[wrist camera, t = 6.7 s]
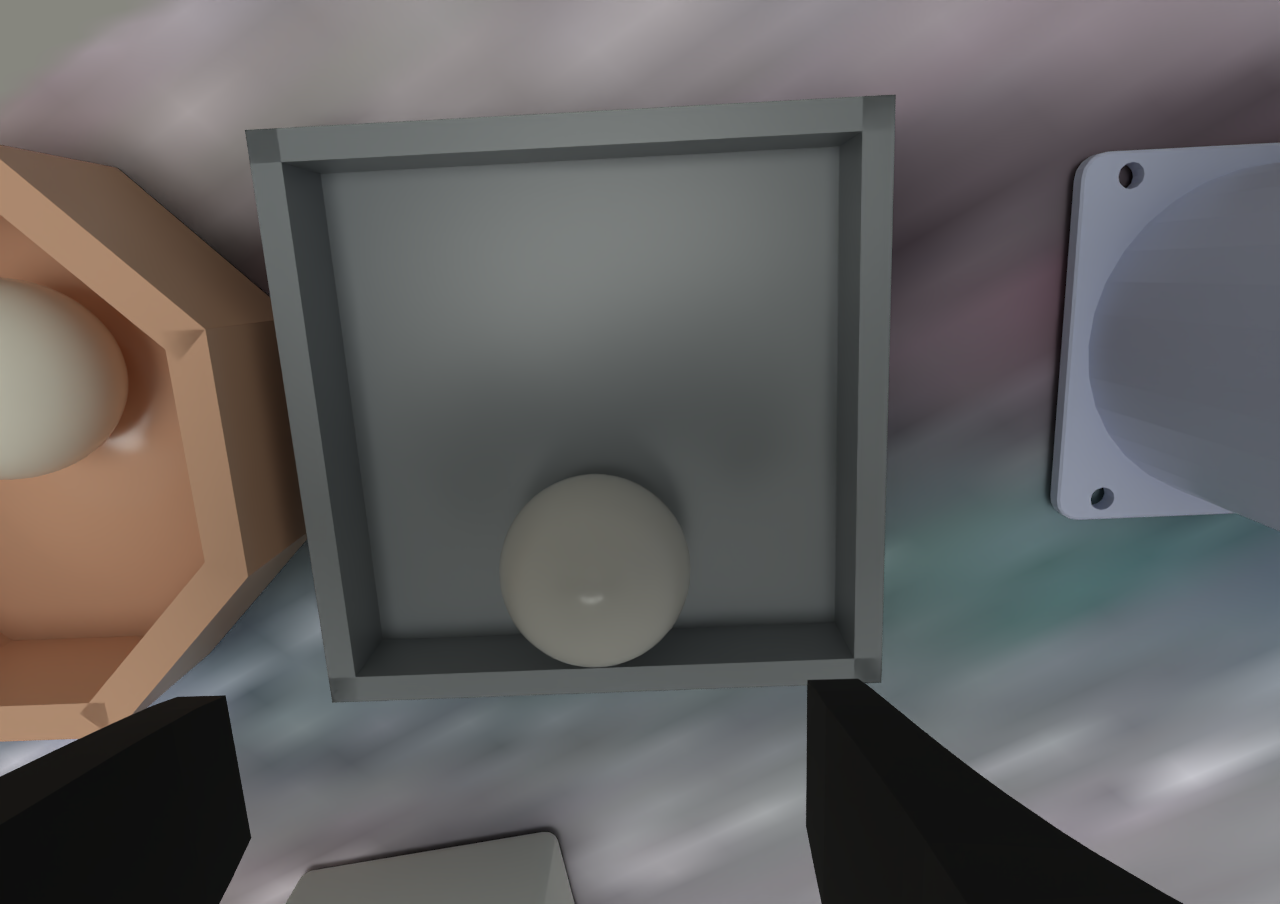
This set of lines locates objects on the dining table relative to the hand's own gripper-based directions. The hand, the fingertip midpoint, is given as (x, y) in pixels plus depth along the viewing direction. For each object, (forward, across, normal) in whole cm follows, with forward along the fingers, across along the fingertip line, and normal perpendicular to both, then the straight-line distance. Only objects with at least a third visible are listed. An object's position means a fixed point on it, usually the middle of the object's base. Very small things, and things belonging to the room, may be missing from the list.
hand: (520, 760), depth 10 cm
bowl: (+9, +12, -3) cm, 15 cm away
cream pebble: (+9, +11, -4) cm, 15 cm away
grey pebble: (+9, 0, 0) cm, 9 cm away
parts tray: (+9, 0, -3) cm, 10 cm away
